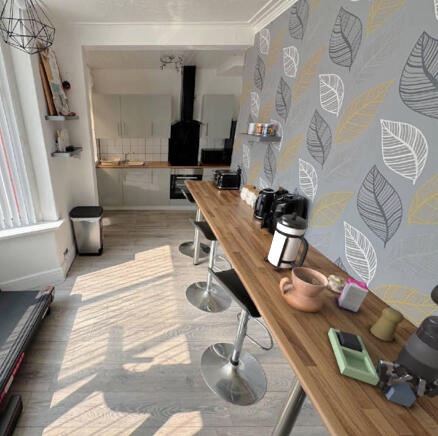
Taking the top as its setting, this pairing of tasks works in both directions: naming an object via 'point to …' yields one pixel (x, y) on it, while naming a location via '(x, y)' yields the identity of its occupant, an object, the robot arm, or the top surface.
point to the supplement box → (353, 295)
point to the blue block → (401, 394)
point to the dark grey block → (349, 340)
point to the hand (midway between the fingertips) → (395, 394)
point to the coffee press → (288, 242)
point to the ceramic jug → (304, 289)
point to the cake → (336, 283)
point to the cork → (387, 324)
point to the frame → (353, 360)
